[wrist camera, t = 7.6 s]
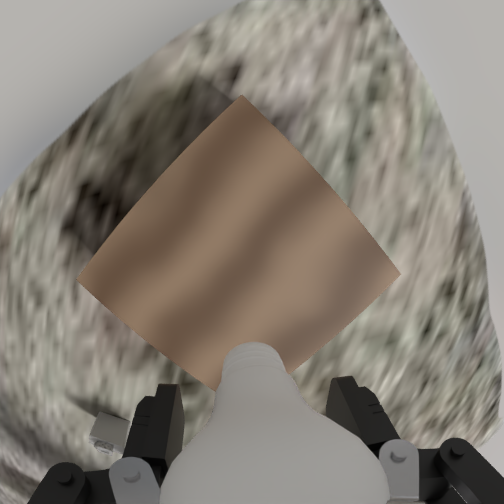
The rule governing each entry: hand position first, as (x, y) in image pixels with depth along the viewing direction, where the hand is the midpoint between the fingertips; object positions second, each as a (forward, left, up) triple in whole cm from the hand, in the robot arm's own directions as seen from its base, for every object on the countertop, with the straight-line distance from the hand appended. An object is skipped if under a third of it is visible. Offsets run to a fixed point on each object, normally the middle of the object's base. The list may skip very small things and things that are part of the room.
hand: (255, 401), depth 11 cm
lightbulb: (0, 0, -3) cm, 3 cm away
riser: (0, 0, -17) cm, 17 cm away
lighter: (-5, +25, -18) cm, 31 cm away
